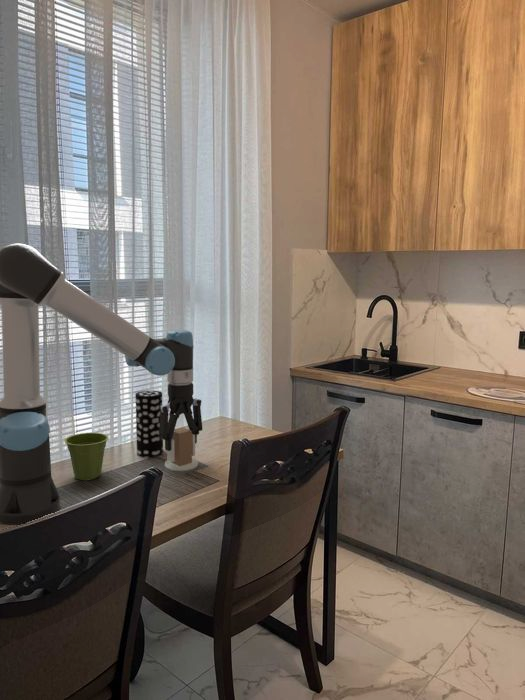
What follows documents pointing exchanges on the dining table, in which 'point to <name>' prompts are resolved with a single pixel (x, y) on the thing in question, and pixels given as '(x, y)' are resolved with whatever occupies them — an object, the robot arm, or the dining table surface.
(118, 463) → the dining table surface
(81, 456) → the plant pot
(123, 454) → the dining table surface
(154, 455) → the white-spotted black cylinder
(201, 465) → the mat
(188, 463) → the wooden post on disc
